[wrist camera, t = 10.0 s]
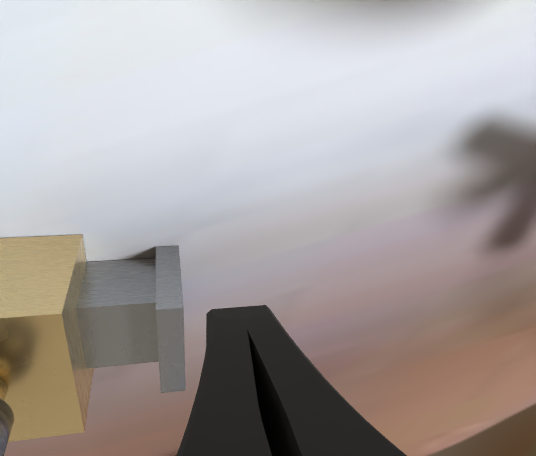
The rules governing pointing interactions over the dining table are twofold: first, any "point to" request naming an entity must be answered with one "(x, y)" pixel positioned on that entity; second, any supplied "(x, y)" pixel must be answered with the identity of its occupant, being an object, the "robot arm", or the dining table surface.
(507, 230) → the dining table surface
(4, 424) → the valve lever
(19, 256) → the valve body
